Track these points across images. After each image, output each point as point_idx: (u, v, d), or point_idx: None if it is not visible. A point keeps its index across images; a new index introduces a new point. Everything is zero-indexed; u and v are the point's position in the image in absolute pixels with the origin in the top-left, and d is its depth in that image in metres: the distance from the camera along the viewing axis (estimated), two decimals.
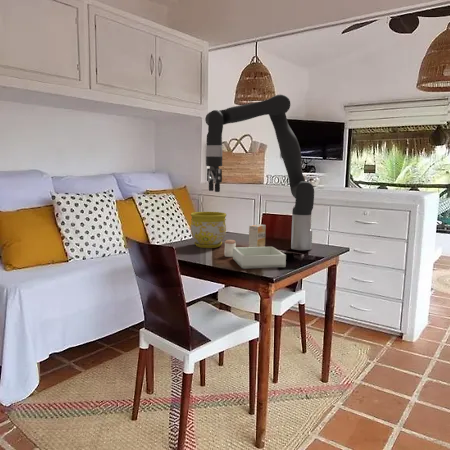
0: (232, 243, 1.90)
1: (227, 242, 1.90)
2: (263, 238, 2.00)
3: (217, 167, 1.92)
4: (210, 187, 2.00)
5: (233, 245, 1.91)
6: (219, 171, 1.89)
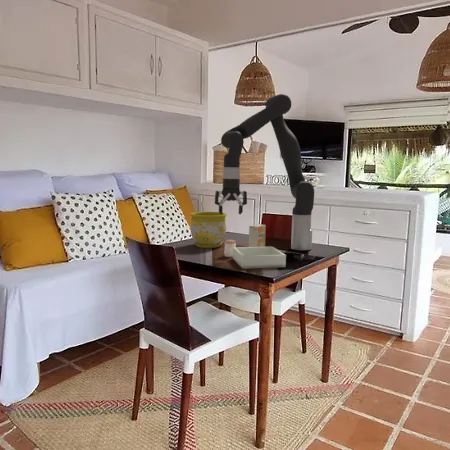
0: (232, 243, 1.90)
1: (227, 242, 1.90)
2: (263, 238, 2.00)
3: None
4: (222, 210, 1.89)
5: (233, 245, 1.91)
6: None
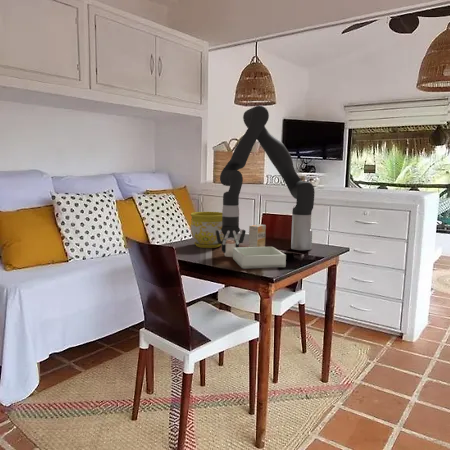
0: (232, 243, 1.90)
1: (227, 242, 1.90)
2: (263, 238, 2.00)
3: None
4: None
5: (233, 245, 1.91)
6: None
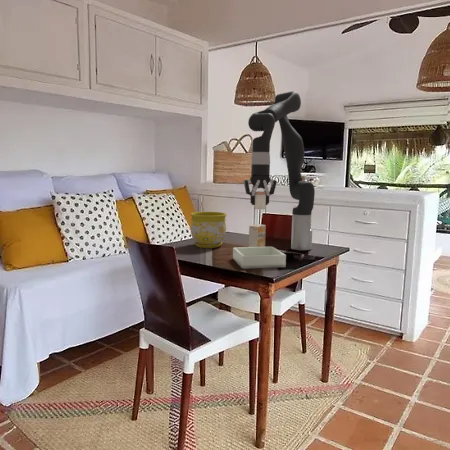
0: (262, 194, 1.74)
1: (257, 193, 1.74)
2: (263, 238, 2.00)
3: None
4: None
5: (263, 196, 1.74)
6: None
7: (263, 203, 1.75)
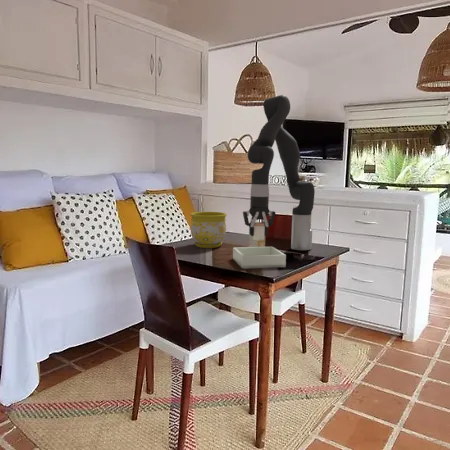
0: (261, 225, 1.76)
1: (256, 224, 1.76)
2: None
3: None
4: None
5: (262, 227, 1.76)
6: None
7: (262, 234, 1.77)
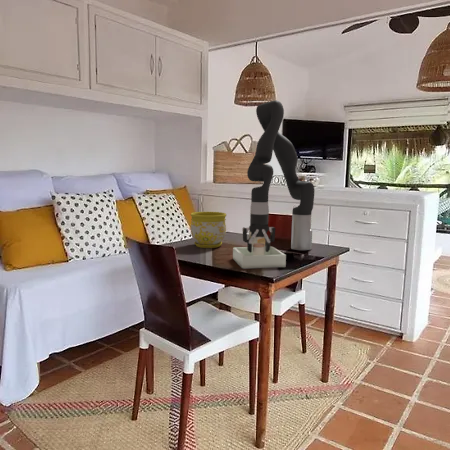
0: (261, 247, 1.77)
1: (256, 246, 1.78)
2: (263, 238, 2.00)
3: None
4: None
5: (262, 249, 1.78)
6: None
7: None
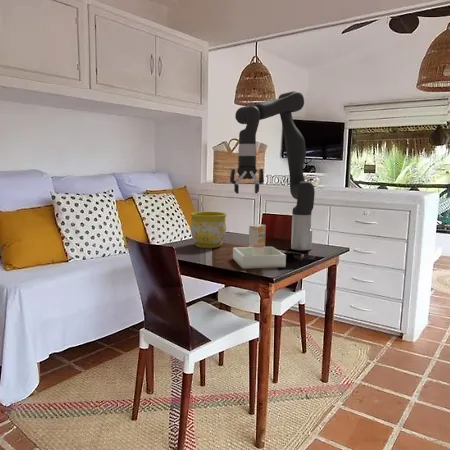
0: (261, 247, 1.77)
1: (256, 245, 1.78)
2: (263, 238, 2.00)
3: None
4: None
5: (262, 249, 1.78)
6: None
7: None
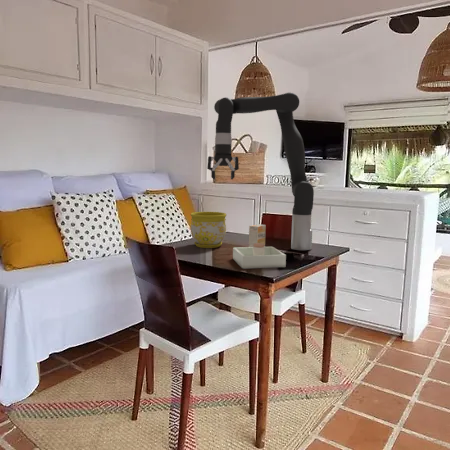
0: (261, 247, 1.77)
1: (256, 246, 1.77)
2: (263, 238, 2.00)
3: None
4: (214, 175, 1.95)
5: (262, 249, 1.77)
6: None
7: None
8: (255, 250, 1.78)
